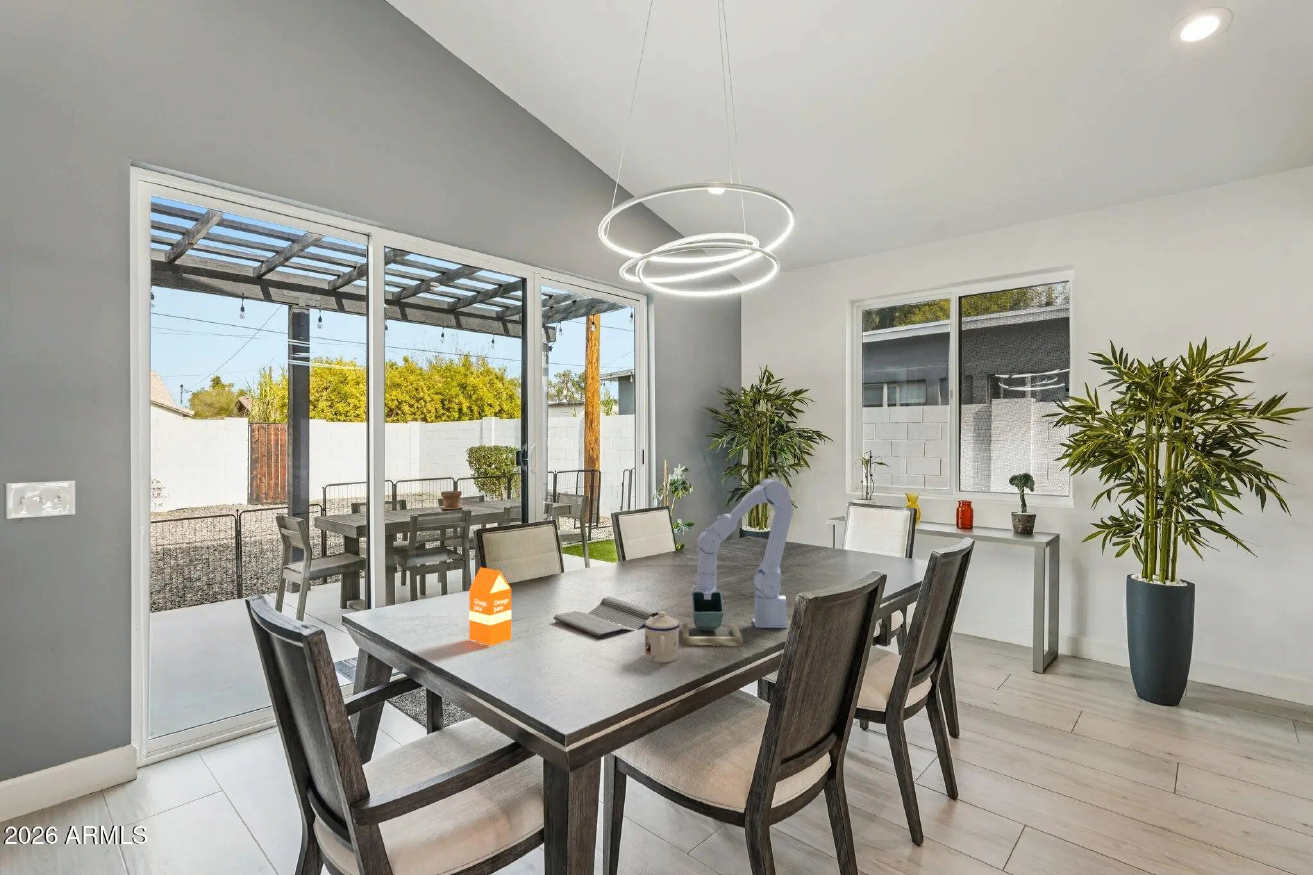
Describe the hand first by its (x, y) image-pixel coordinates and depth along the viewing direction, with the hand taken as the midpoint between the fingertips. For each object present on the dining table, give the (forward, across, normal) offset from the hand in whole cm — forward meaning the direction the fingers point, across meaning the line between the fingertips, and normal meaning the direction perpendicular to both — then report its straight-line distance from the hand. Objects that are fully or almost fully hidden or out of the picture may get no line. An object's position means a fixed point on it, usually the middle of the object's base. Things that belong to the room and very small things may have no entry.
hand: (705, 617), depth 187 cm
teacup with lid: (+3, +28, -13) cm, 31 cm away
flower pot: (+2, +2, 0) cm, 3 cm away
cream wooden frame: (+3, +10, +1) cm, 11 cm away
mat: (+5, -2, -30) cm, 30 cm away
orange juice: (+5, +15, -61) cm, 63 cm away
